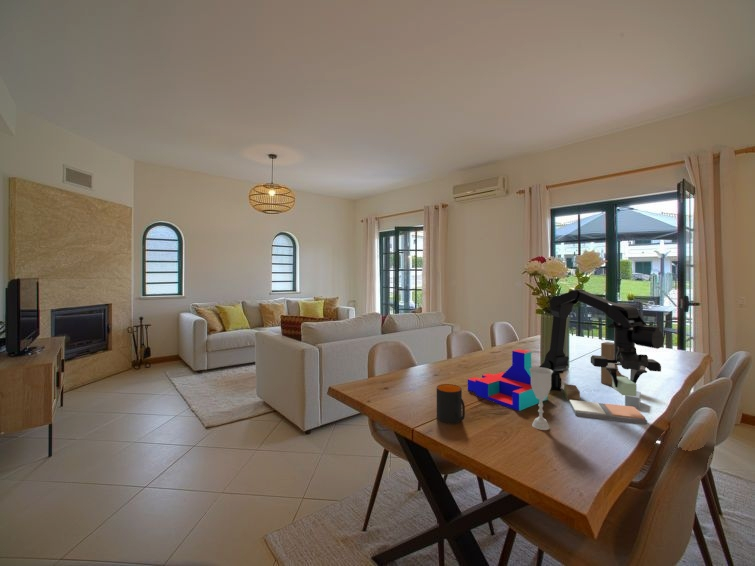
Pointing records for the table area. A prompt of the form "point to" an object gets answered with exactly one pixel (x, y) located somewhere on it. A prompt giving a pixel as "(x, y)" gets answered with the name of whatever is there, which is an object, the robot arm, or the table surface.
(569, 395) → the walnut brick
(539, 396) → the chalice
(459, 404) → the mug
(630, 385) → the sage brick
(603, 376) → the wooden block
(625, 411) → the tile board
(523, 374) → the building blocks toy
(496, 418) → the table surface
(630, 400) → the slate brick
